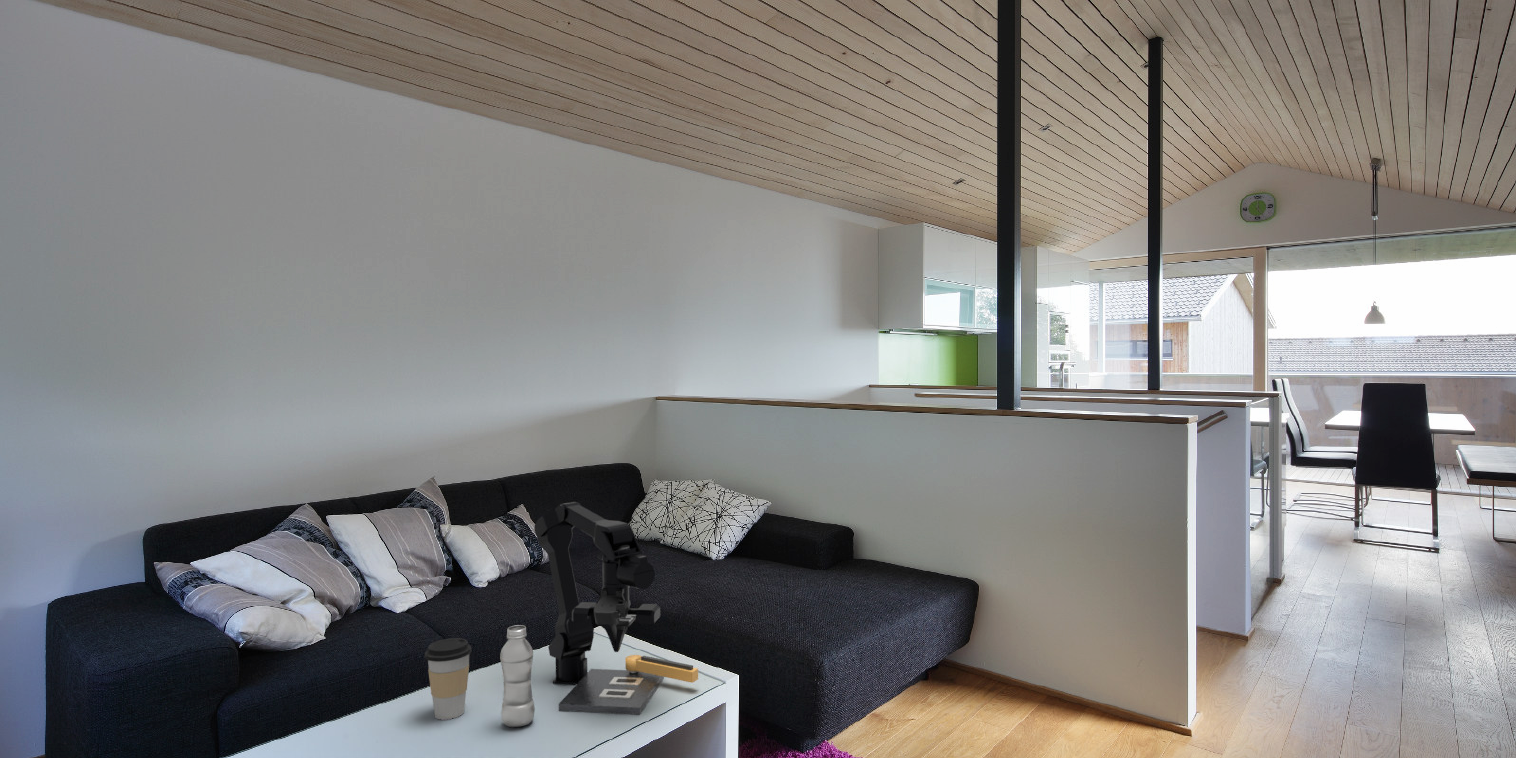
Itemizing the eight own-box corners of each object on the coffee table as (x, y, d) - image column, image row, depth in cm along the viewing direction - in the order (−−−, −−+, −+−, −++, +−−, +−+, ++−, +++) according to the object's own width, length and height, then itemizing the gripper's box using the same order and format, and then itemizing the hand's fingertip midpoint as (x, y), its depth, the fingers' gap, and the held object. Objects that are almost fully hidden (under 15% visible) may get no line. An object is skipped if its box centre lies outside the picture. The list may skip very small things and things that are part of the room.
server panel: (558, 710, 165) (558, 700, 165) (591, 674, 185) (591, 665, 185) (639, 714, 163) (639, 704, 163) (664, 677, 183) (663, 668, 183)
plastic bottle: (529, 731, 156) (528, 632, 156) (496, 731, 156) (495, 633, 156) (539, 717, 162) (537, 622, 162) (507, 717, 162) (506, 622, 162)
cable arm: (690, 684, 172) (690, 669, 172) (622, 669, 182) (621, 655, 182) (700, 677, 176) (700, 663, 176) (632, 663, 185) (632, 650, 185)
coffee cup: (481, 707, 167) (481, 639, 167) (451, 726, 158) (450, 654, 158) (446, 702, 170) (445, 634, 170) (414, 720, 161) (414, 649, 161)
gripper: (561, 590, 163) (562, 663, 163) (646, 592, 161) (647, 666, 161) (580, 576, 174) (581, 645, 174) (660, 578, 172) (661, 648, 172)
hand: (616, 651), depth 170 cm, fingers closed
